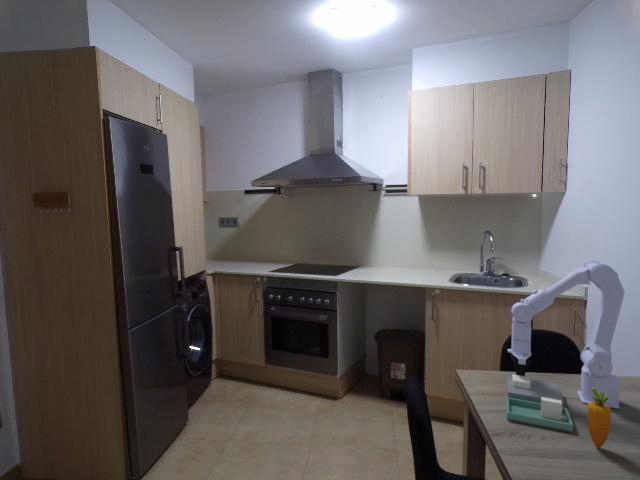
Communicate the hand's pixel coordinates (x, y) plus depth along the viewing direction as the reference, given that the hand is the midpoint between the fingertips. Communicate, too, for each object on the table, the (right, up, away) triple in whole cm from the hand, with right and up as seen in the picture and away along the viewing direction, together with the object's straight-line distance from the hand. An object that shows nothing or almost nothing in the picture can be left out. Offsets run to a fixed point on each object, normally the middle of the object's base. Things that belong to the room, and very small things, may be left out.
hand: (520, 377), depth 126 cm
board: (+1, -4, -6) cm, 8 cm away
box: (-5, -5, -17) cm, 19 cm away
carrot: (+2, -6, -32) cm, 32 cm away
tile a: (0, -2, -17) cm, 17 cm away
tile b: (-2, -1, -4) cm, 4 cm away
